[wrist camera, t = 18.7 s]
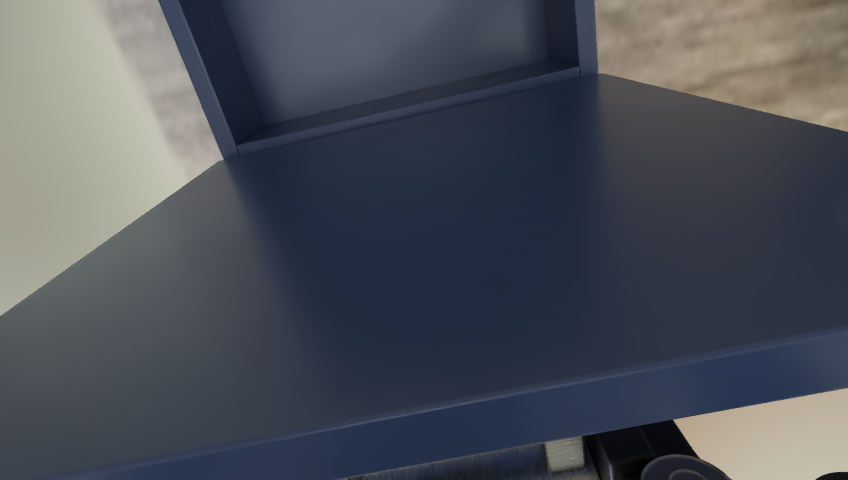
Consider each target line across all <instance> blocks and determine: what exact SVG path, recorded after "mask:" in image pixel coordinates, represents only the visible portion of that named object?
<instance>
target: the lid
mask: <svg viewBox="0 0 848 480" xmlns="http://www.w3.org/2000/svg"><path fill="white" fill-rule="evenodd" d="M845 388H848V132H846V131H841V130H837V129H833V128H829V127H825V126H821V125H816V124H812V123H808V122H804V121H800V120H795V119H791V118H787V117H783V116H779V115H775V114H770V113H766V112H762V111H758V110H754V109H749V108H745V107H741V106H737V105H733V104H728V103H724V102H720V101H716V100H712V99H708V98H703V97H699V96H695V95H691V94H687V93H682V92H678V91H674V90H670V89H666V88H662V87H657V86H653V85H649V84H645V83H641V82H636V81H632V80H628V79H624V78H620V77H616V76H611V75H607V74H603V73H601V74H597V75H592V76H588V77H584V78H579V79H575V80H571V81H566V82H562V83H557V84H553V85H549V86H544V87H540V88H536V89H531V90H527V91H523V92H518V93H514V94H509V95H505V96H501V97H496V98H492V99H488V100H483V101H479V102H474V103H470V104H466V105H461V106H457V107H453V108H448V109H444V110H440V111H435V112H431V113H426V114H422V115H418V116H413V117H409V118H405V119H400V120H396V121H392V122H387V123H383V124H378V125H374V126H370V127H365V128H361V129H357V130H352V131H348V132H344V133H339V134H335V135H330V136H326V137H322V138H317V139H313V140H309V141H304V142H300V143H296V144H291V145H287V146H282V147H278V148H274V149H269V150H265V151H261V152H256V153H252V154H247V155H243V156H239V157H234V158H230V159H226V160H221V161H219V162H217V163H216V164H214V165H213V166H212V167H210V168H209V169H207V170H206V171H204V172H203V173H202V174H200V175H199V176H197V177H196V178H195V179H193V180H192V181H190V182H189V183H188V184H186V185H185V186H183V187H182V188H181V189H179V190H178V191H176V192H175V193H174V194H172V195H171V196H169V197H168V198H166V199H165V200H164V201H162V202H161V203H159V204H158V205H157V206H155V207H154V208H152V209H151V210H150V211H148V212H147V213H145V214H144V215H142V216H141V217H140V218H138V219H137V220H136V221H134V222H133V223H131V224H130V225H128V226H127V227H125V228H124V229H123V230H121V231H120V232H118V233H117V234H116V235H114V236H113V237H111V238H110V239H109V240H108V241H106V242H104V243H103V244H101V245H100V246H99V247H97V248H96V249H94V250H93V251H92V252H90V253H89V254H87V255H86V256H85V257H83V258H82V259H80V260H79V261H77V262H76V263H75V264H73V265H72V266H70V267H69V268H68V269H66V270H65V271H63V272H62V273H61V274H59V275H58V276H56V277H55V278H53V279H52V280H51V281H49V282H48V283H46V284H45V285H44V286H42V287H41V288H39V289H38V290H37V291H35V292H34V293H32V294H31V295H30V296H28V297H27V298H25V299H24V300H22V301H21V302H20V303H18V304H17V305H15V306H14V307H13V308H11V309H10V310H8V311H7V312H6V313H4V314H3V315H1V316H0V480H601V477H600V473H599V470H598V467H597V464H596V461H595V459H594V456H593V453H592V451H591V449H590V446H589V444H588V442H587V440H586V438H585V435H590V434H596V433H601V432H607V431H612V430H618V429H623V428H629V427H635V426H640V425H646V424H651V423H657V422H662V421H668V420H673V419H679V418H684V417H689V416H695V415H701V414H706V413H712V412H718V411H723V410H729V409H734V408H740V407H745V406H751V405H756V404H762V403H767V402H773V401H778V400H784V399H789V398H795V397H800V396H806V395H812V394H817V393H823V392H828V391H834V390H839V389H845Z"/></svg>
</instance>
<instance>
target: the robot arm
mask: <svg viewBox="0 0 848 480" xmlns="http://www.w3.org/2000/svg"><path fill="white" fill-rule="evenodd" d="M585 438H586V440H587V442H588V444H589V446H590V449H591V451H592V453H593V456H594V459H595V461H596V464H597V467H598V470H599V473H600V477H601V480H731V479H730V478H729V477H728V476H727V475H726V474H725V473H724V472H722V471H721V470H720V469H718V468H717V467H715V466H714V465H712V464H710V463H708V462H706V461H704V460H701V459H700V458H699V457H698V456H697V454H696V453H695V452H694V450H693V449H692V447H691V446H690V445H689V443H688V442H687V440H686V439H685V437H684V436H683V434H682V433H681V431H680V430H679V428H678V427H677V425H676V424H675V422H674V421H673V420H668V421H662V422H657V423H651V424H646V425H640V426H635V427H629V428H623V429H618V430H612V431H607V432H601V433H596V434H590V435H585ZM816 480H848V472H835V473H829V474H826V475H822V476H821V477H819V478H817V479H816Z"/></svg>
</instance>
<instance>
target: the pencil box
mask: <svg viewBox="0 0 848 480" xmlns="http://www.w3.org/2000/svg"><path fill="white" fill-rule="evenodd" d="M158 1H159V3H160V6H161V8H162V10H163V13H164V15H165V18H166V20H167V23H168V25H169V27H170V30H171V32H172V35H173V37H174V40H175V42H176V44H177V47H178V49H179V52H180V54H181V57H182V59H183V61H184V64H185V66H186V69H187V71H188V74H189V76H190V79H191V81H192V83H193V86H194V88H195V91H196V93H197V96H198V98H199V100H200V103H201V105H202V108H203V110H204V113H205V115H206V117H207V120H208V122H209V125H210V127H211V130H212V132H213V134H214V137H215V139H216V142H217V144H218V147H219V149H220V152H221V154H222V156H223V159H224V160H226V159H230V158H234V157H239V156H243V155H247V154H252V153H256V152H261V151H265V150H269V149H274V148H278V147H282V146H287V145H291V144H296V143H300V142H304V141H309V140H313V139H317V138H322V137H326V136H330V135H335V134H339V133H344V132H348V131H352V130H357V129H361V128H365V127H370V126H374V125H378V124H383V123H387V122H392V121H396V120H400V119H405V118H409V117H413V116H418V115H422V114H426V113H431V112H435V111H440V110H444V109H448V108H453V107H457V106H461V105H466V104H470V103H474V102H479V101H483V100H488V99H492V98H496V97H501V96H505V95H509V94H514V93H518V92H523V91H527V90H531V89H536V88H540V87H544V86H549V85H553V84H557V83H562V82H566V81H571V80H575V79H579V78H584V77H588V76H592V75H597V74H598V60H597V42H596V24H595V6H594V0H158Z"/></svg>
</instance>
